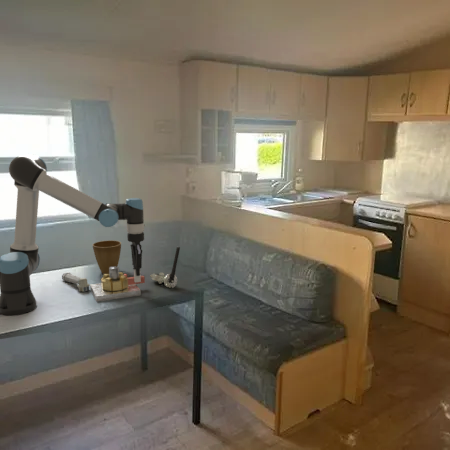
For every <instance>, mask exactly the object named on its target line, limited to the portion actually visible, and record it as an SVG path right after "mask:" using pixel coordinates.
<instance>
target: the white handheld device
mask: <svg viewBox="0 0 450 450" xmlns="http://www.w3.org/2000/svg"><path fill="white" fill-rule="evenodd" d="M61 279H62V280H63V281H65V282H69V283H73V284H77V285H76V286H77V288H78V292H88V291H90V285H91V284H90V283H88V279H87V277H82V278H81V277H80V276H76V275H74V274H72V273H71V272H65V273H63V274H62V275H61Z"/></svg>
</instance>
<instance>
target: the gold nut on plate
mask: <svg viewBox="0 0 450 450" xmlns="http://www.w3.org/2000/svg"><path fill="white" fill-rule="evenodd" d="M119 272H120V267H119V266H117V267H116V266H114V267H110V268H109V276H110V278H112V281H117V280H119ZM89 285H90V286H89V291H91V293H92V296H93V298H94V300H95V302H103V301H104V302H105V301H110V300H111V301H112V300H118V299H125V298H131V297H139V296H141V295H142V294H141V293H142V292H141V291H142V290H141V289H140V288H139V286H138V284H133V285H128V287H127V288H125V289H122V290H117V291H113V290H112V291H107V290H103V289H102V286H101V282H99V283H93V284H89Z"/></svg>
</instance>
